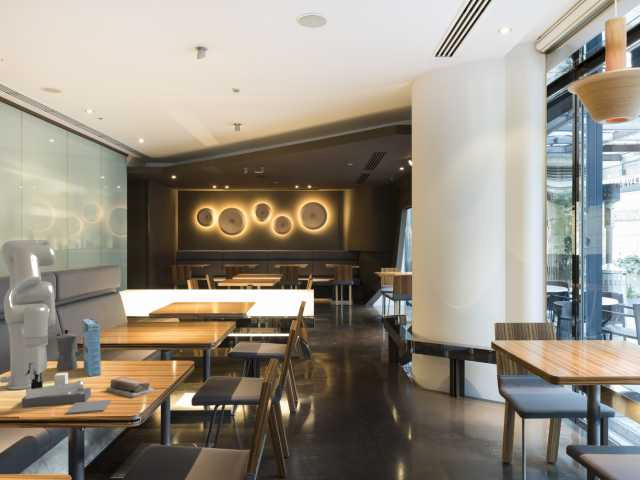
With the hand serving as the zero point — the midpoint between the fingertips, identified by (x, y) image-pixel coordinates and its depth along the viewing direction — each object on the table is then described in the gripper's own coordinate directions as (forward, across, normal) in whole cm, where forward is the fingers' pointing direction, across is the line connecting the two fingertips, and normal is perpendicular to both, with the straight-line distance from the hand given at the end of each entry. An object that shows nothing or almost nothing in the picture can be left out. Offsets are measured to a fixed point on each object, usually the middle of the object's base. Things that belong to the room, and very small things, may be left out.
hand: (37, 392), depth 178 cm
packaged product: (+6, -11, +30) cm, 32 cm away
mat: (+5, +6, +19) cm, 20 cm away
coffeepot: (+6, -60, -7) cm, 61 cm away
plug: (+5, -5, +7) cm, 10 cm away
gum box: (+6, -49, +7) cm, 50 cm away
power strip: (+5, -5, +5) cm, 9 cm away
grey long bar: (+1, +1, +6) cm, 6 cm away
